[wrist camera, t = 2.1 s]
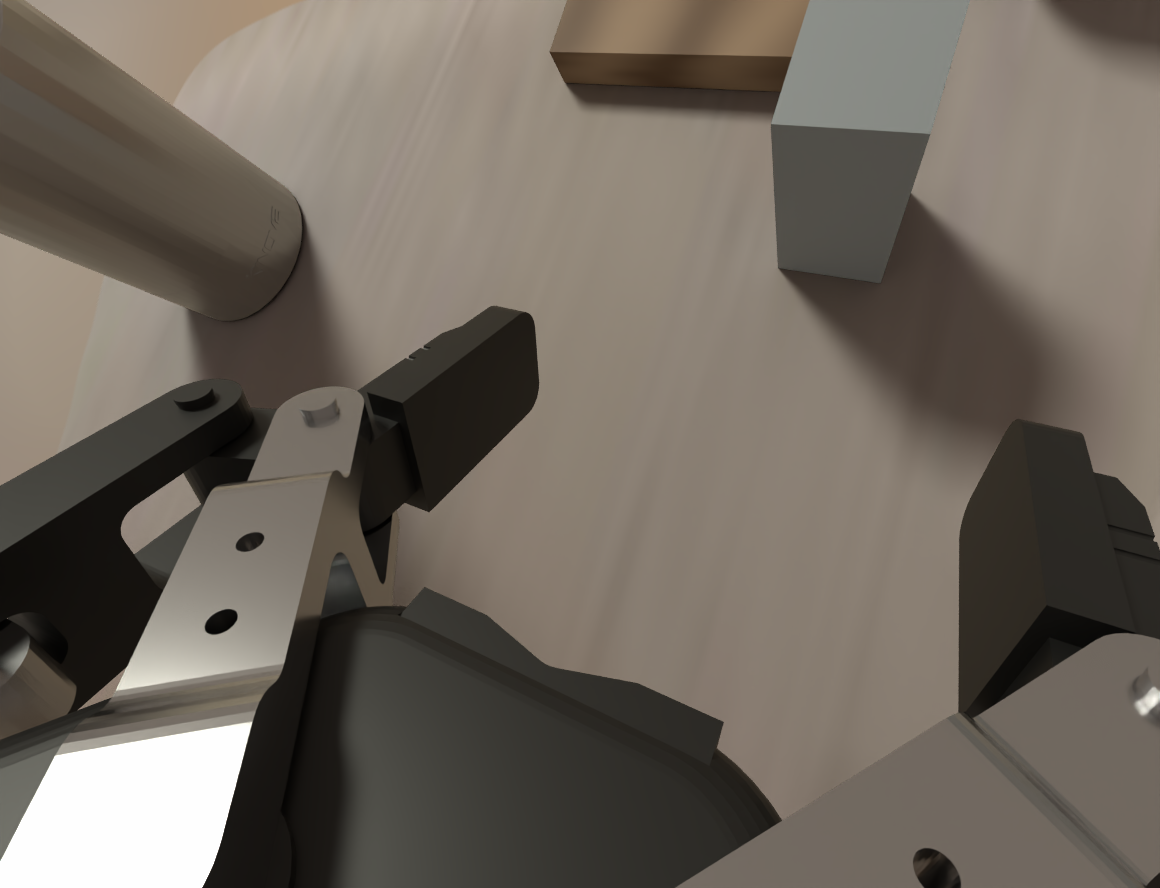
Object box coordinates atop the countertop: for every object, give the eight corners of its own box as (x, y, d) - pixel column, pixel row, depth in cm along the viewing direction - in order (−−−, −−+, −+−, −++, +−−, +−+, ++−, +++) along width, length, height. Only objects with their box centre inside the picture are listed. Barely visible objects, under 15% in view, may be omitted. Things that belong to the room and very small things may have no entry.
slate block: (777, 267, 25) (770, 123, 16) (805, 180, 25) (811, -6, 17) (880, 283, 23) (930, 134, 15) (907, 190, 23) (972, -10, 15)
